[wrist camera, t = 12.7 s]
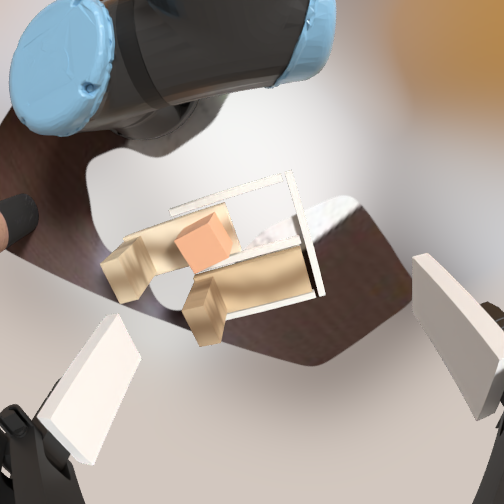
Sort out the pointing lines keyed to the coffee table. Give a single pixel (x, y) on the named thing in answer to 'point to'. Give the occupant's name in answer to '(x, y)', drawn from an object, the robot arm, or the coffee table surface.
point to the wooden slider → (155, 253)
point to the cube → (204, 243)
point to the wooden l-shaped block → (242, 290)
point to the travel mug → (16, 219)
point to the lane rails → (266, 247)
